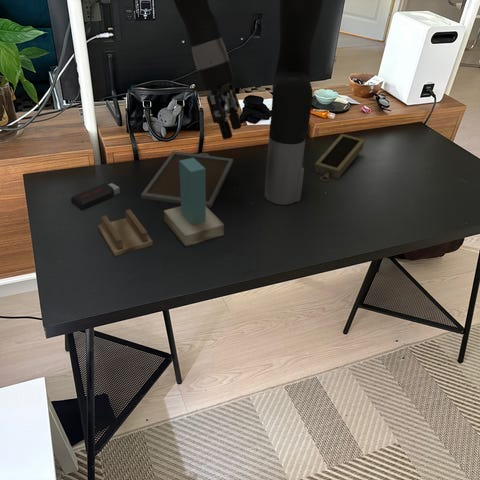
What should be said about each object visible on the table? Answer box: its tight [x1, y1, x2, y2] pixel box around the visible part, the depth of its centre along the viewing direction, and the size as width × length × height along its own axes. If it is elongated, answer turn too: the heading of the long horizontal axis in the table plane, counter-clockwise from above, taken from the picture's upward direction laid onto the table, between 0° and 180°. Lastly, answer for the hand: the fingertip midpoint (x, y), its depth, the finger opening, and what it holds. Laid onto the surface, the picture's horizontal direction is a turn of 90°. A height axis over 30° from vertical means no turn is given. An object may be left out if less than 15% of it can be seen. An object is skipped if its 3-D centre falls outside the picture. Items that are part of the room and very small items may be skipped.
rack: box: [97, 208, 154, 257], centre depth 112 cm, size 9×12×4 cm
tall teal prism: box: [179, 158, 206, 226], centre depth 111 cm, size 4×6×14 cm, turn 30°
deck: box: [163, 205, 225, 247], centre depth 116 cm, size 10×12×3 cm
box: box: [314, 133, 365, 183], centre depth 145 cm, size 8×22×5 cm, turn 148°
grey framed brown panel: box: [140, 151, 234, 209], centre depth 138 cm, size 19×2×30 cm
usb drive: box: [70, 182, 121, 211], centre depth 126 cm, size 5×12×3 cm, turn 138°
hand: (232, 133), depth 114 cm, fingers open, 8 cm apart
